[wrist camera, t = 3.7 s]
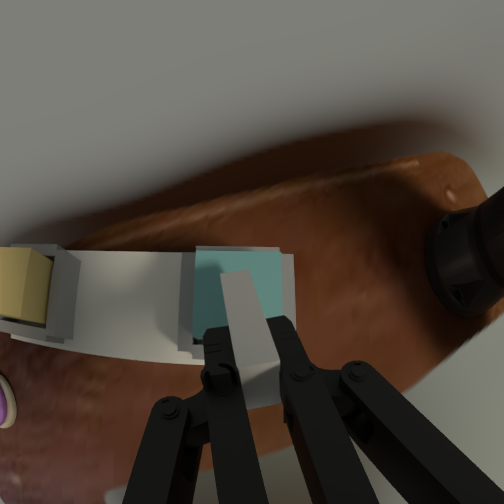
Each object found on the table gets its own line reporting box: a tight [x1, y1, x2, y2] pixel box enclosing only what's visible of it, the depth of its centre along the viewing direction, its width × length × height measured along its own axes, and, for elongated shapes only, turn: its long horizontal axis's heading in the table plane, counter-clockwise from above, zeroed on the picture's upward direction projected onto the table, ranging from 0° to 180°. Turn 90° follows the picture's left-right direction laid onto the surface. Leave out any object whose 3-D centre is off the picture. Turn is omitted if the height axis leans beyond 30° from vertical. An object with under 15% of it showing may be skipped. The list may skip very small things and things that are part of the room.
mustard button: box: [0, 247, 54, 324], centre depth 18 cm, size 5×5×4 cm
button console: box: [0, 244, 296, 365], centre depth 25 cm, size 26×9×11 cm, turn 90°
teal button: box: [192, 250, 283, 339], centre depth 19 cm, size 5×5×4 cm
